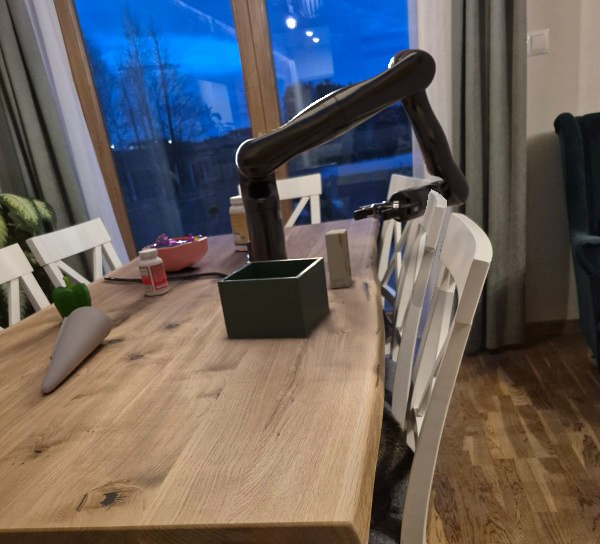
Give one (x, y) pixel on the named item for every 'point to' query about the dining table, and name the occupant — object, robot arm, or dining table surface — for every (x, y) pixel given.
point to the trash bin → (274, 298)
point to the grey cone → (75, 343)
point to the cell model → (180, 251)
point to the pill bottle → (152, 273)
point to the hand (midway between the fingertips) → (368, 216)
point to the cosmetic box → (338, 258)
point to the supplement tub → (238, 223)
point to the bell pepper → (71, 297)
